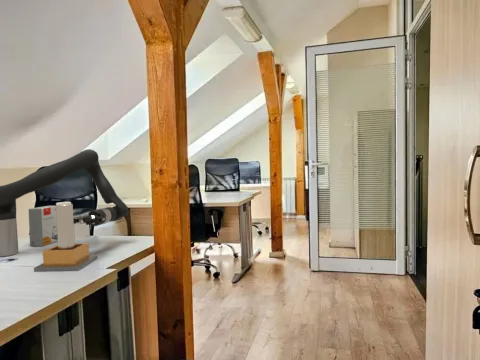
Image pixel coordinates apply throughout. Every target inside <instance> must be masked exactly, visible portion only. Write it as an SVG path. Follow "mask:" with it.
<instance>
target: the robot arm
mask: <svg viewBox="0 0 480 360" xmlns="http://www.w3.org/2000/svg"><path fill="white" fill-rule="evenodd" d="M99 160H100V159H99V154H98V152H97V151H95V150H94V149H88V148H87V149H84V150H82V151H80V152H79V153H77V154H75V155H73V156H71V157H69V158H67V159H64V160H61V161H58V162H56V163H52V164H50V165H47V166H45V167H43V168H40V169H37V170H36V171H34V172H31V173H30V174H28V175H26V176H24V177H22V178H21V179H19V180H16V181H13V182H10V183H8V184H3V185H0V257H8V256H14V255H18V254H19V241H18V240H19V237H18V223H17V199H19V198H21V197H23V196H25V195H28V194H30V193H33V192H37V191H39V190H43V189H46V188H47V187H50V186H52V185H55V184H57V183H59V182H61V181H62V180H64V179H66V178H67V177H69V176H70V175H72V174H73V173H75V172H77V171H79V170H83V169H85V170H86V172H87V174H88V175H89V176H90V178H91V179H92V181H93V183H94V184H95V187H96V188H97V191H98V192H99V194H100V196H101V198H102V200H103V202H104V203H105V204H107V205H110V204H114V205H115V206H113V207H104V208H98V209H94V210H90V211H89V212H88V214H86V215H79V216H75V217H74V216H73V221H74V224H77V223H79V224H85V223H86V225H89V226H93V227H97V226H100V225H104V224H107V223H109V222H115V221H118V220H120V219H121V218H122V219H123V218H124V217H125V216H127V215H128V214H129V208H128V205H127V204H126V203H125V202H124V201H123V200H122V199H121V198H120V197H119V196H118V195H117V192H116V191H115V188H114V187H113V186H112V184H111V182H110V181H109V179H108V178H107V177H106V176H105V174H104V171H103V170H102V168H101V167H102V166H100V163H99ZM81 220H83V222H81Z"/></svg>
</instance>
